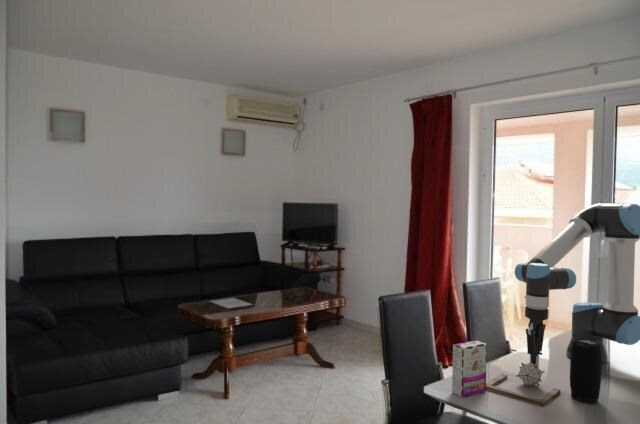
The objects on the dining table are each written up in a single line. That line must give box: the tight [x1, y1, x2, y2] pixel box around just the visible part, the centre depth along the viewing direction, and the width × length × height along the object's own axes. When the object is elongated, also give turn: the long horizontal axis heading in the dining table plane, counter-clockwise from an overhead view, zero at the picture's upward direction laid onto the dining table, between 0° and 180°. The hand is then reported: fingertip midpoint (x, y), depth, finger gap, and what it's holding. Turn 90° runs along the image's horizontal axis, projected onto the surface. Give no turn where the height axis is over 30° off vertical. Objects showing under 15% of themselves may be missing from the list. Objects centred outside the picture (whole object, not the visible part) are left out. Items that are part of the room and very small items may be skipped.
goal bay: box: [486, 373, 561, 407], centre depth 163 cm, size 16×20×1 cm
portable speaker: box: [569, 337, 603, 405], centre depth 157 cm, size 9×9×20 cm
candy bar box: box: [451, 339, 488, 399], centre depth 160 cm, size 11×5×16 cm, turn 119°
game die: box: [515, 361, 545, 388], centre depth 168 cm, size 9×8×10 cm
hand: (533, 372), depth 172 cm, fingers closed
